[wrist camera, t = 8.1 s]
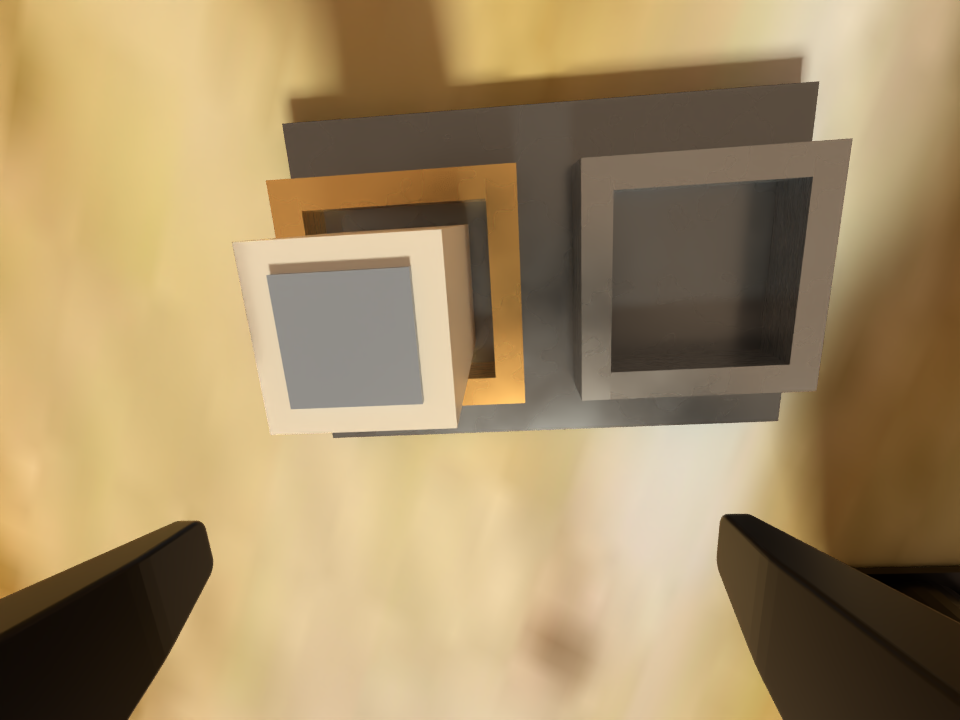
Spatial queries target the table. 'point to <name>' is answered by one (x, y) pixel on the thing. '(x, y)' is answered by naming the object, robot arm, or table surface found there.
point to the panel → (605, 246)
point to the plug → (360, 328)
